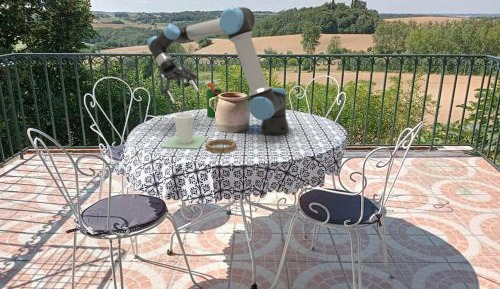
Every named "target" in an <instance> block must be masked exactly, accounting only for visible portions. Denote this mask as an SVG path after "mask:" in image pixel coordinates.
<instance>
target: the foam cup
mask: <svg viewBox="0 0 500 289" xmlns="http://www.w3.org/2000/svg"><path fill="white" fill-rule="evenodd" d="M173 122H174V124H175V129H176V134H177V135H176V136H178V139H179V143H182V144H187V143H191V142H192V138H193V135H194V122H195V115H194V114H193V113H189V112H188V113H186V112H182V113H177V114H174V116H173Z"/></svg>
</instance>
